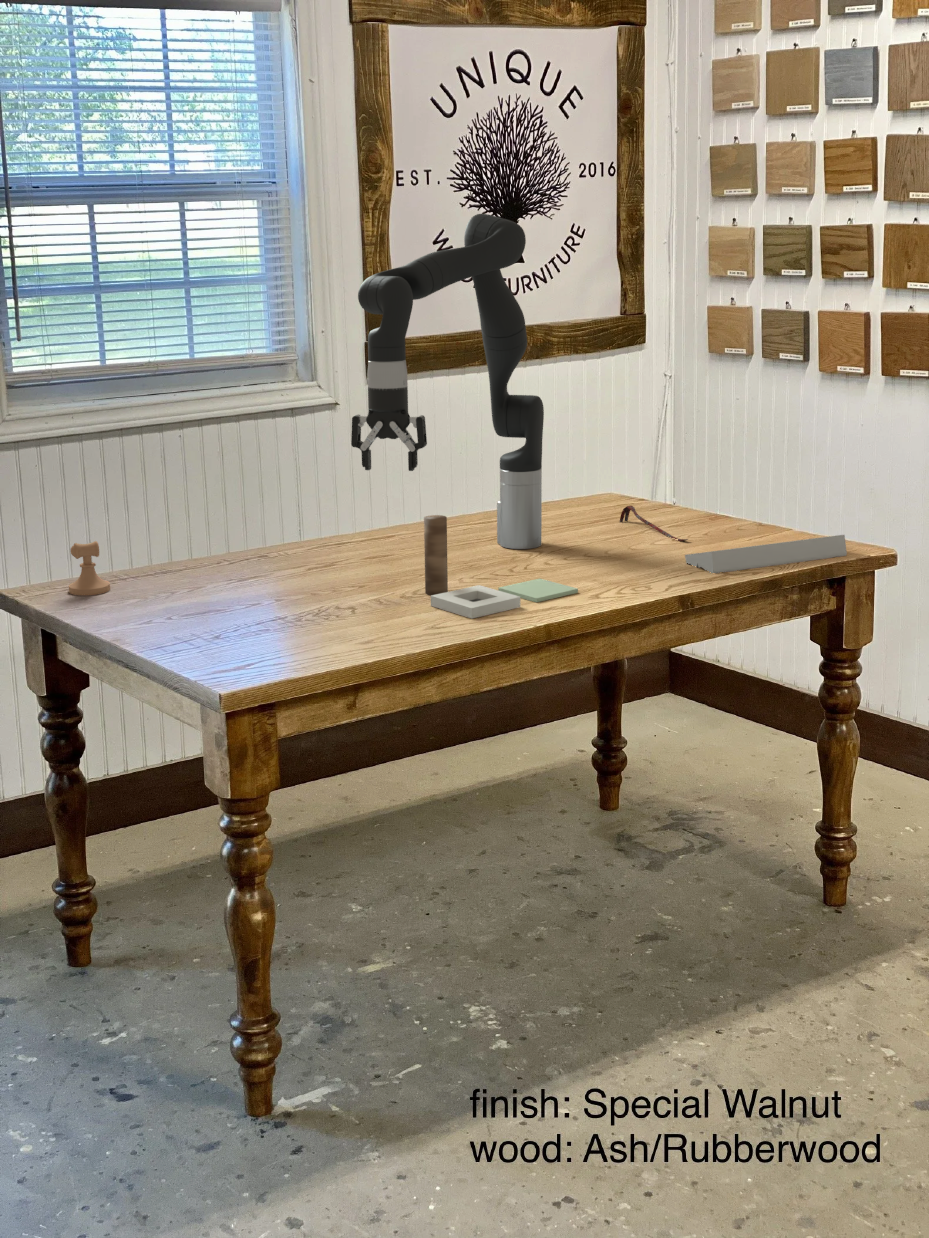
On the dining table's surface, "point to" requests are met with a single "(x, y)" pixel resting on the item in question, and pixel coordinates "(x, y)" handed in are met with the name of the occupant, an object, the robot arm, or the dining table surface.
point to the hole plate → (475, 601)
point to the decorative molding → (769, 554)
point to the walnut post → (435, 554)
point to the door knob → (87, 571)
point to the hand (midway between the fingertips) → (389, 470)
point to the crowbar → (626, 513)
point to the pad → (538, 590)
